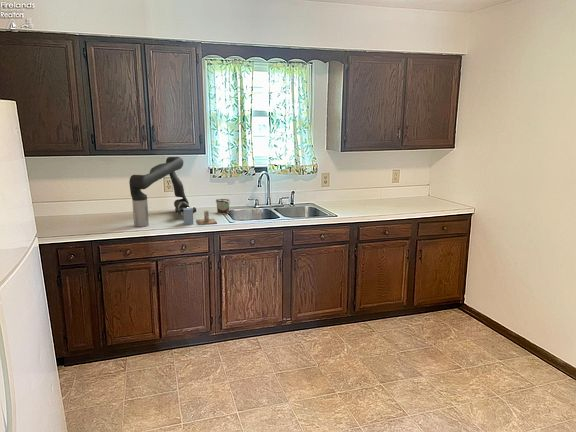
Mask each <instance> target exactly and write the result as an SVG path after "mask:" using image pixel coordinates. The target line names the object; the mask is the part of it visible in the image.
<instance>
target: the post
mask: <svg viewBox="0 0 576 432" xmlns="http://www.w3.org/2000/svg"><path fill="white" fill-rule="evenodd" d="M203 211H204V212H203V216H204V217H203V219H202V218H201V219H195V220H196V222H197V224H198V225H199V226H200V225H201V226H204V225H217V224H218V222H217V221H216V219H215V218H209V217H210V216H209V210H203Z"/></svg>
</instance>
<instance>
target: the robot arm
mask: <svg viewBox="0 0 576 432" xmlns="http://www.w3.org/2000/svg"><path fill="white" fill-rule="evenodd" d="M183 166H184V159H183V158H182V157H181V156H168V157H167V158H166V159H165V162H163V163H160V164H157V165H155V166H153V167H151V168H150V170H149V173H147V174H132V175H130V177H129V191H130V197H131V200H132V214H133V215H132V216H133V217H132V218H133V227H134V228H143V227H148V226H149V207H148V205H149V204H148V195H147V194H145V193H144V192H142V190H147V188H149V187H150V186H152V185H153V184H154V183H156V182H158V181H159V180H162V179H163V178H165V177H167V176H169V177H170V180H171V183H172V187H173V188H172V189H173V192H174V196H175V197H176V198H179V199H176V200H174V202H173V206H174V207H175V208H174V213H175V214H179V215H184V212H183V208H192V209H193V215H194V214H195V213H197V208H196V207H194V206H193V207H191V206H190V203H189V201H188V199H187V196H186V194H185V188H184V184H183V182H182V180H180V178H179V177H178V175H177V174H176V171H178V170H179V171H180V170H181V169H182V168H183Z"/></svg>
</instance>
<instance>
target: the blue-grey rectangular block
mask: <svg viewBox="0 0 576 432" xmlns="http://www.w3.org/2000/svg"><path fill="white" fill-rule="evenodd" d="M192 208H193V207H190V208H183V212H184V214H183V224H184V226H185V225H194V214H193V209H192Z"/></svg>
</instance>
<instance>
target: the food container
mask: <svg viewBox="0 0 576 432" xmlns="http://www.w3.org/2000/svg"><path fill="white" fill-rule="evenodd" d="M215 203H216V211H217V213H218V214H222V213H225V214H224V215H229V213H230V204H231V200H230V199H228V198H218V199H217V198H216V200H215Z"/></svg>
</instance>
